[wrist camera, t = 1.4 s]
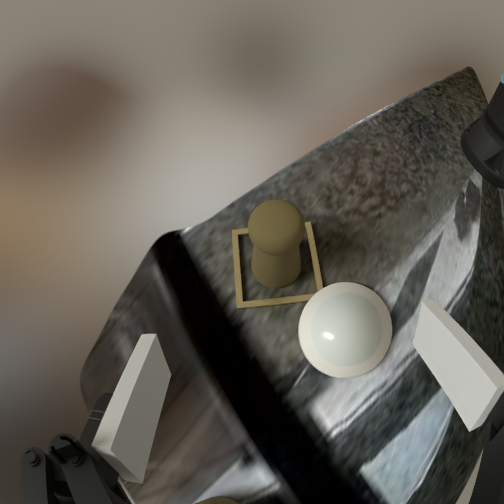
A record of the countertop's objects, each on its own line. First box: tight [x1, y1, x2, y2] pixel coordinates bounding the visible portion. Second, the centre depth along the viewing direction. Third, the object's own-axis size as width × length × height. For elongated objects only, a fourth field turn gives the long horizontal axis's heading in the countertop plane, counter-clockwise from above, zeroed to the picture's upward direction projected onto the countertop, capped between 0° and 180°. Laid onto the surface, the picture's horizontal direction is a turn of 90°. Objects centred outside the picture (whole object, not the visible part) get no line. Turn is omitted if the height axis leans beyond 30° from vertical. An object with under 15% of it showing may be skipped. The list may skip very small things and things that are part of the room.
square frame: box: [232, 222, 323, 309], centre depth 34 cm, size 10×10×1 cm
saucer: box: [298, 282, 392, 378], centre depth 30 cm, size 11×11×1 cm
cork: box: [248, 199, 305, 289], centre depth 29 cm, size 6×6×11 cm
